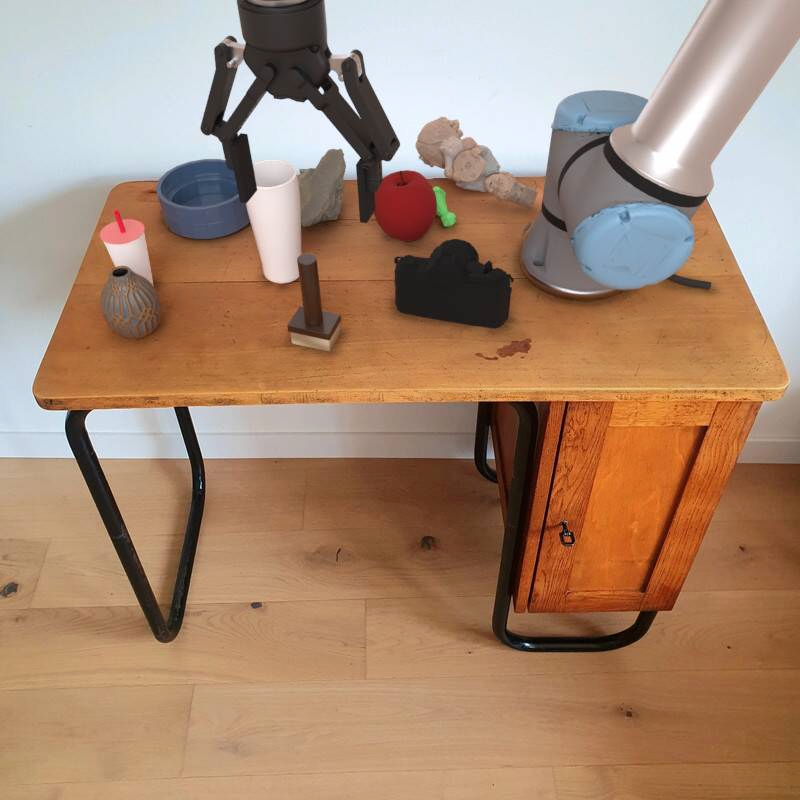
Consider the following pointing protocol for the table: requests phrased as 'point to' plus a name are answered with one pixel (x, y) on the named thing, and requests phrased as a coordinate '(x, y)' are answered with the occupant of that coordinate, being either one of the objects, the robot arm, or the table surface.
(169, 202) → the bowl
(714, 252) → the table surface
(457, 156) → the figurine
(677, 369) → the table surface
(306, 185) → the grey rock
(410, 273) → the film camera
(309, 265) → the brush
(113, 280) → the vase
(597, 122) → the robot arm
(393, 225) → the apple
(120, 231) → the cup
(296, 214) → the drinking glass
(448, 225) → the game piece
